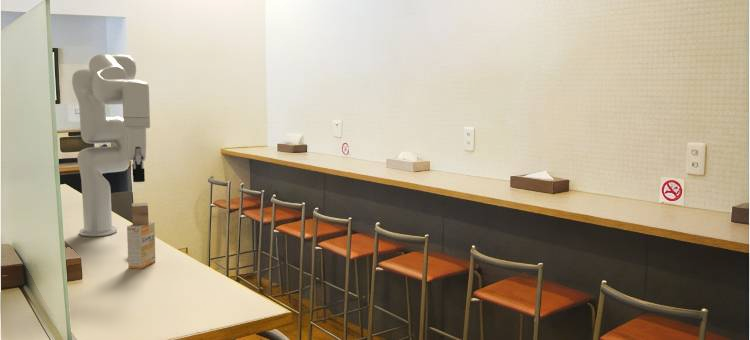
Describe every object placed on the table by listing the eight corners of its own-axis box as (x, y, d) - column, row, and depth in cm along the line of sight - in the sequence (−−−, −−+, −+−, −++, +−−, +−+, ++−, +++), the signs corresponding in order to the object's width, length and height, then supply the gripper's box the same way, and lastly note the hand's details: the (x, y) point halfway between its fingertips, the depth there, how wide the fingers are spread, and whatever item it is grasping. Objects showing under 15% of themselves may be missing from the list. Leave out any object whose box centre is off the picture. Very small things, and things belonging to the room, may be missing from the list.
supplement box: (142, 269, 194) (140, 227, 192) (127, 268, 195) (126, 226, 193) (156, 261, 202) (155, 221, 200) (142, 260, 203) (141, 220, 201)
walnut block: (132, 222, 198) (131, 203, 197) (148, 221, 199) (147, 202, 199) (132, 225, 194) (132, 206, 193) (148, 224, 195) (147, 205, 194)
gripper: (123, 120, 198) (125, 174, 201) (123, 125, 183) (125, 184, 185) (148, 120, 201) (150, 173, 204) (151, 125, 185) (152, 183, 188)
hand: (138, 178), depth 195 cm, fingers open, 9 cm apart
